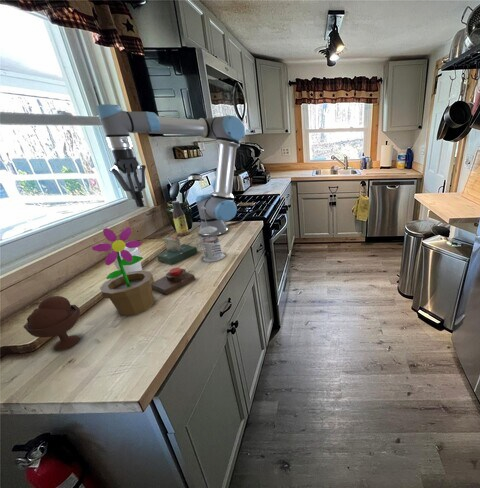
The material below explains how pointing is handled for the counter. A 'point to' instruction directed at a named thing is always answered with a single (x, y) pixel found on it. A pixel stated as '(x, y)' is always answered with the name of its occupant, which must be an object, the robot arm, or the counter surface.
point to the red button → (175, 271)
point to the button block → (172, 282)
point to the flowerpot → (125, 276)
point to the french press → (216, 247)
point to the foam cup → (132, 267)
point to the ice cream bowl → (54, 321)
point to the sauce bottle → (179, 219)
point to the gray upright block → (173, 244)
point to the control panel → (177, 254)
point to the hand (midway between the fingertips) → (140, 206)
